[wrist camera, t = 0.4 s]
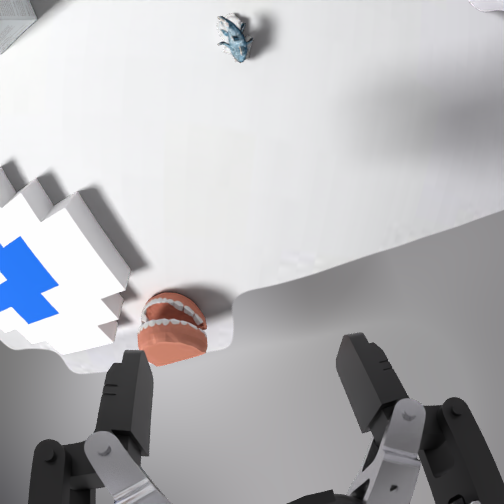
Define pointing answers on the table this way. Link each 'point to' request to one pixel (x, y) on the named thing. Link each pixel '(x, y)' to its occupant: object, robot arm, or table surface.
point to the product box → (14, 20)
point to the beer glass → (487, 5)
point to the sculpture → (234, 37)
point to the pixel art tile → (57, 270)
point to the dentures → (171, 329)
